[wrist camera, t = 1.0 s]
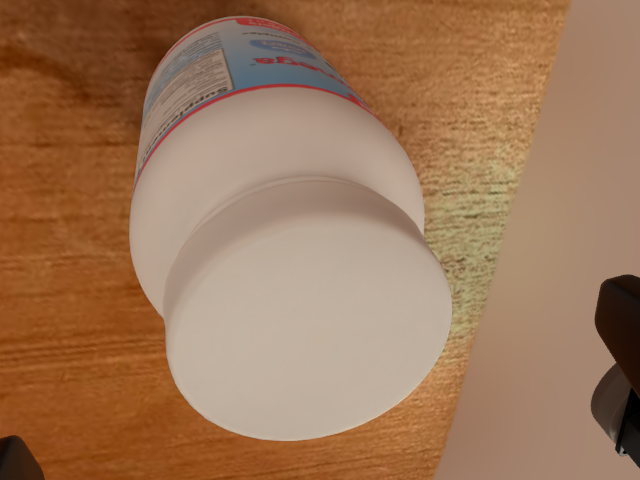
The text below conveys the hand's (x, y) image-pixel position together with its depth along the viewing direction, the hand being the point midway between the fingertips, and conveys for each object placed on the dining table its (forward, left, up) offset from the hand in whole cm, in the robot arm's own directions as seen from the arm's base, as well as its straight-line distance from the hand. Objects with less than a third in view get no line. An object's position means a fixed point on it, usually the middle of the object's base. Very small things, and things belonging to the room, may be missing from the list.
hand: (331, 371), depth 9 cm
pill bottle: (0, 0, -12) cm, 12 cm away
